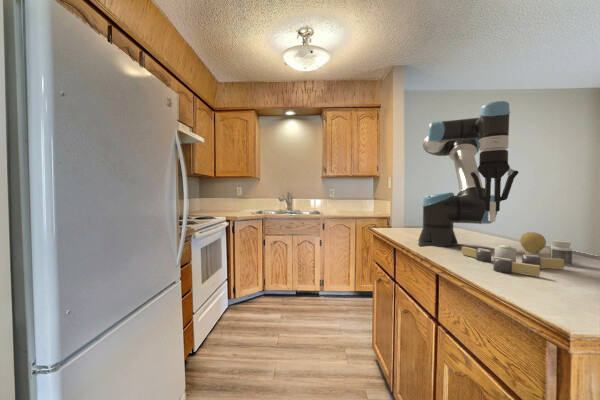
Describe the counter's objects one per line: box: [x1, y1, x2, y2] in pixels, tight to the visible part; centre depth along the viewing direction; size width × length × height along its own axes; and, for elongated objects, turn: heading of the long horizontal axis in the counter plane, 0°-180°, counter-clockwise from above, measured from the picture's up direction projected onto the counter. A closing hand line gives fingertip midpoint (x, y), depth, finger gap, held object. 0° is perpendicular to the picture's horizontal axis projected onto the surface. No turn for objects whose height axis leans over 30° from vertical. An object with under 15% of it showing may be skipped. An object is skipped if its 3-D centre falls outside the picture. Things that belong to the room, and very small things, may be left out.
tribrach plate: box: [494, 244, 517, 262], centre depth 74 cm, size 18×18×7 cm
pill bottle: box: [549, 239, 573, 267], centre depth 76 cm, size 5×5×8 cm
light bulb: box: [519, 231, 547, 258], centre depth 83 cm, size 6×6×10 cm
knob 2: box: [493, 256, 541, 277], centre depth 68 cm, size 10×4×4 cm, turn 46°
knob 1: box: [461, 246, 493, 263], centre depth 83 cm, size 10×4×4 cm, turn 15°
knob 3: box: [521, 254, 565, 270], centre depth 72 cm, size 10×4×4 cm, turn 75°
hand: (491, 220), depth 83 cm, fingers closed
